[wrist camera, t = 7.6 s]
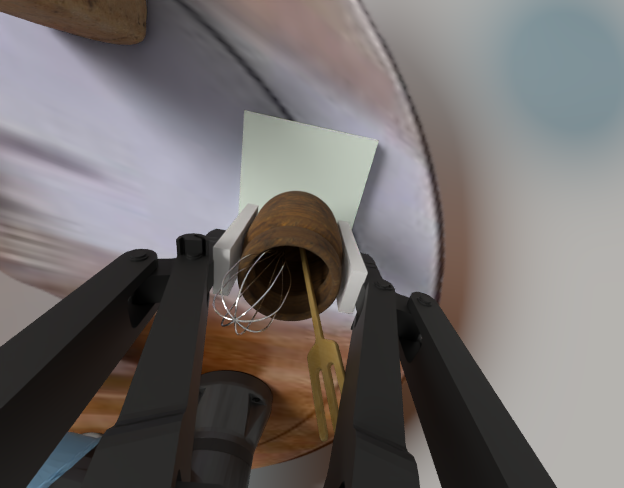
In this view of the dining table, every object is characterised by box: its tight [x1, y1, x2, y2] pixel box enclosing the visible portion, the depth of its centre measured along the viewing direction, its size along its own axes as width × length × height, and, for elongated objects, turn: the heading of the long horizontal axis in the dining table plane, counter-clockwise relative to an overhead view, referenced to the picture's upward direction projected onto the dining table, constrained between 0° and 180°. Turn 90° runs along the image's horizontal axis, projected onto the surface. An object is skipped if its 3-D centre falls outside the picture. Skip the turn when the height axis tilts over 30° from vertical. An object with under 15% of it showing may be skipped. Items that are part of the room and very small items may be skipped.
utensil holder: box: [213, 191, 345, 442], centre depth 12 cm, size 6×6×12 cm
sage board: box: [238, 110, 379, 230], centre depth 24 cm, size 14×12×2 cm
